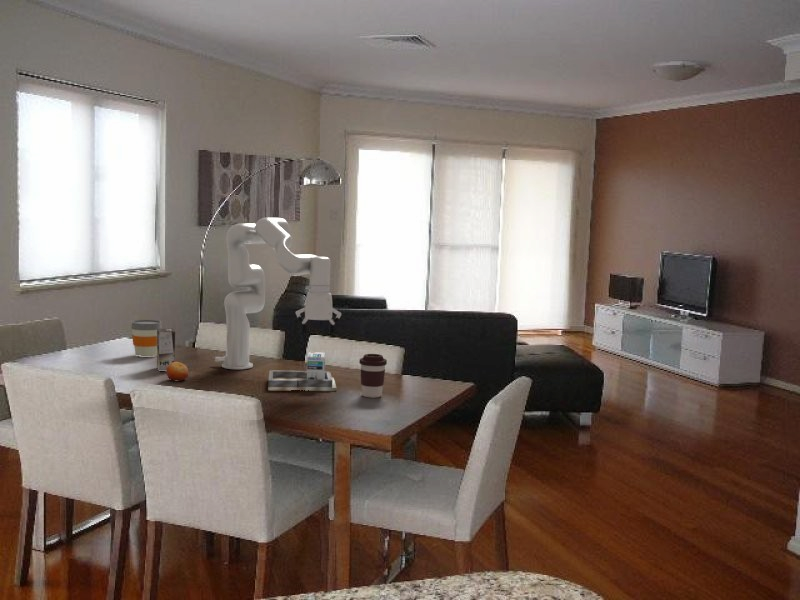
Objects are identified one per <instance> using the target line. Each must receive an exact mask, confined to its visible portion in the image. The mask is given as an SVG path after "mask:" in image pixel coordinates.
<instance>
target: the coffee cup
mask: <svg viewBox="0 0 800 600" xmlns="http://www.w3.org/2000/svg"><path fill="white" fill-rule="evenodd" d="M387 364H388V360H387V358H384V356H383V355H382V354H378V353H367V354H364V355H363V357H361V358H359V365H360V385H361V396H362V397H365V398H370V399H371V398H372V399H373V398H380V397H382V394H383V387H384V383H385V373H386V369H385V368H386V367H385V366H387Z"/></svg>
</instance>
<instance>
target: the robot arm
mask: <svg viewBox="0 0 800 600" xmlns="http://www.w3.org/2000/svg"><path fill="white" fill-rule="evenodd" d="M290 228H291V227H290V224H289V223H288V221H287V220H286V219H285V218H281V217H262V218H260V219H258V220H257V221H255V222H253V223H251V222H245V223H244V222H241V223H236V224H233V225H231V226H230V228H229V227H228V229H227V230H228V231H227V232H226V236H225V241H226V247H227V272H228V273H227V275H228V276H227V278H228V279H227V280H228V283H229V285H230V286H231V287H232V288H236V289H237V288H240V289H241V288H242V289H244V288H247V290H236V291H232V292H230V293H228V294H227V295H226V296H225V298H224V301H223V302H224V303H223V304H224V310H225V316H226V317H225V318H226V322H225V323H226V332H225V335H226V336H225V337H226V341H225V351H226V352H225V355H223V356H214V361H215V362H218V363H222V364H221V367H222V368H224V369H227V370H228V369H229V370H247V369H249V370H250V369H252V368H253V367H254V364H253V362H250V348H251V347H250V346H251V345H250V342H251V341H250V340H251V338H250V336H251V329H250V328H251V325H250V321H249V319H248V317H247V314H256V313H259V312H262V310H263V309H264V307H265V303H266V275H265V272H264V269H263V268H262V267H261V266H260V265H259V264H254V263H252V264H251V263H250V253H249V251H248V249H247V247H246V245H265V244H267V245H268V246H269V247H270V249H273V250H274V256H275V259H276V262H277V264H278V265H279V266H280V267H281V268H282V269H283V270H284V271H285V272H287V273H288V274H290V275H293V276H294V275H296V276H299V275H309V285H306V286H305V290H308V291H309V292H307V293H306V296H305V297H306V300H305V306H304V307H303V308H301V309H299V310H296V311H295V315H296V318H297V319H298V320H299V322H301V324H302V328H301V329H302V330H301V331H302V333H303V335H306V334H307V322H308V321H309V320H310V321H311V320H313V321H329V333H328V334H329V335H330V336H332V335H333V334H332V333H334V326H335V324H336V323H337V322H338V321H339V320H340V318H341V316H342V312H341V311H338V310H337V309H335V308H334V307H333V296H332V293H331V292H330V289H331V288H330V287H331V286H330V285H331V283H330V282H331V258H329V257H328V256H319V255H316V254H310V253H308V254H295V253H293V252H291V251H290V249H291V247H292V245H293V242H294V241H293V236H292V235H291V234H290V231H291V229H290ZM302 313H304V317H302V316H301V314H302ZM333 313H334V314H335V315H336V317H335V318H334V319H333Z"/></svg>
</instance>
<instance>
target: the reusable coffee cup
mask: <svg viewBox="0 0 800 600" xmlns="http://www.w3.org/2000/svg"><path fill="white" fill-rule="evenodd" d="M157 329H163V326H162V321H161V320H156V319H138V320H132V321H131V330H132V334H131V338H132V344H133V346H134V353H135V356H136V355H141V356H153V355H157Z"/></svg>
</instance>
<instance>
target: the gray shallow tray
mask: <svg viewBox="0 0 800 600" xmlns="http://www.w3.org/2000/svg"><path fill="white" fill-rule="evenodd" d="M267 384H268V385H267V386H268V387H267V390H268V391H291V390H300V391H301V390H303V392H304V390H305V392H307V391H308V390H309V391H311V392H312V391H313V392H314V391H315V392H320V391H321V392H337V385H336V381H335V378H334V377H332V374H331V371H325V380H318V379H307V370H279V369H277V370H275V369H274V370H273V369H271V370H269V373H268V382H267ZM300 391H299V392H300Z"/></svg>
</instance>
